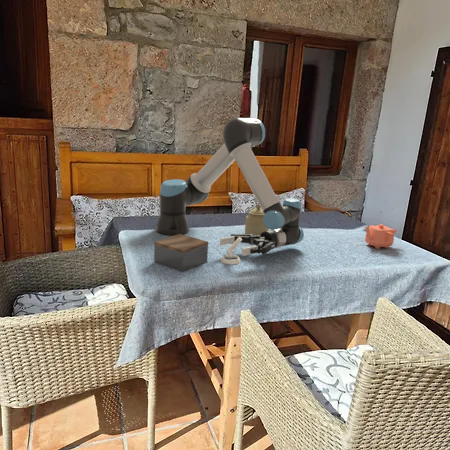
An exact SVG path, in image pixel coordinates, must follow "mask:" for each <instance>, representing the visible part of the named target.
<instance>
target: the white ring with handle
mask: <svg viewBox="0 0 450 450" xmlns="http://www.w3.org/2000/svg"><path fill="white" fill-rule="evenodd" d="M241 241H242V239H241V238H240V237H239V238H238V239H237V240H236V241H235V242H234V243H233V244H230V246H229V247H228V249H227V252H226V254H224V255H222V257H221V258H220V262H221V263H222V264H225V265H231V266H232V265H238V264H240V263H241V259H240V257H239V256H238V255H236V254H234V250H235V249H236V248H237V247H238V246H239V245H240V244H241V243H240V242H241Z"/></svg>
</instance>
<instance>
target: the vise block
mask: <svg viewBox="0 0 450 450" xmlns="http://www.w3.org/2000/svg"><path fill="white" fill-rule="evenodd" d="M153 252H154V259H153V261H154V262H153V263H156V264H159V265H162V266H164V267H166V268H167V267H168V268H170V269H174V270H176V271H179V272H181V273H184V272H186V271H189V270H191V269H193V268H196V267H198V266H201V265H203V264H205V263H208V256H209V255H208V253H209V241H207V240H204V239H200V238H197V237H193V236H190V235H186V234H178V235H170V236H169V237H166V238H162V239H159V240H156V241H154V251H153Z"/></svg>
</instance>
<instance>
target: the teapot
mask: <svg viewBox="0 0 450 450" xmlns="http://www.w3.org/2000/svg"><path fill="white" fill-rule="evenodd" d="M364 229H365V230H366V233H365V237H364V240H365V243H367V245H368V246H369V245H372V246H373V247H374V248H376V250H380V249H381V248H384V249H389V247H392V246H393V244H394V241H395V234H396V233H397V230H396V229H395V228H390V227H389V226H386V225H384V224H382V223H380V224H378V225H372V224H370V225H369V226H368V227H366V226H364Z"/></svg>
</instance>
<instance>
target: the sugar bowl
mask: <svg viewBox="0 0 450 450" xmlns="http://www.w3.org/2000/svg"><path fill="white" fill-rule="evenodd" d="M264 215H265V214H264V212H263V210H262V209H261V207H260V205H259V203H258V204H256V207H255V208H253V209H252V210H250V211H249V212H248V215H246V216H245V223H244V234H254V236H256V235H261V233H262V232H264V231H268V230H270V229H268V228H267V227H266V226H265V225H264V221H263V217H264Z"/></svg>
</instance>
